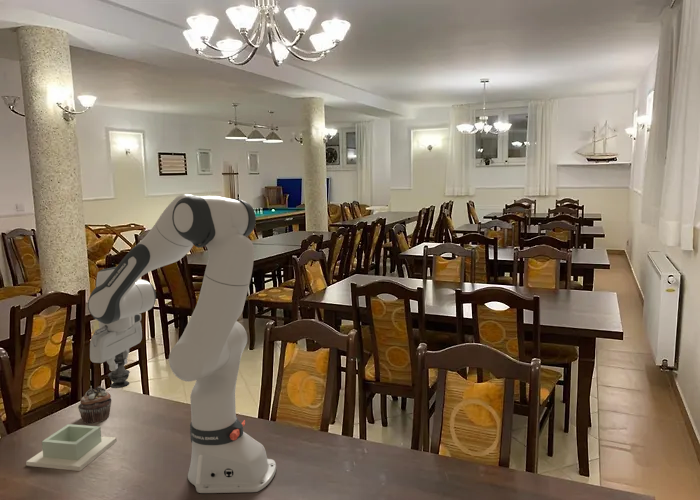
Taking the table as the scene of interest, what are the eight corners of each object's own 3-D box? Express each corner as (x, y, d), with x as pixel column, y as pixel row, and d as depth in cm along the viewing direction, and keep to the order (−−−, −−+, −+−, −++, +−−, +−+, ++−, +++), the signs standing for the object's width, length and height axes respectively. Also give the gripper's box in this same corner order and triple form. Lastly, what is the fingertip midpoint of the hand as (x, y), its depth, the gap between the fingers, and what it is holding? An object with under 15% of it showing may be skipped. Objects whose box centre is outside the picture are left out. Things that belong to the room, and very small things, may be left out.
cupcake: (101, 409, 178) (99, 380, 177) (118, 416, 173) (116, 386, 171) (73, 419, 171) (70, 389, 169) (89, 427, 165) (86, 396, 164)
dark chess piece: (122, 389, 155) (119, 349, 153) (104, 388, 156) (101, 348, 154) (134, 381, 160) (131, 343, 159) (117, 380, 162) (114, 342, 160)
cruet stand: (116, 441, 156) (115, 423, 155) (79, 470, 141) (78, 450, 140) (67, 437, 159) (66, 419, 158) (26, 465, 143) (24, 445, 143)
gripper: (102, 332, 145) (106, 381, 147) (144, 313, 165) (147, 356, 167) (81, 331, 146) (85, 379, 148) (126, 312, 166) (129, 355, 168)
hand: (118, 367), depth 158 cm, fingers closed on dark chess piece, 3 cm apart
